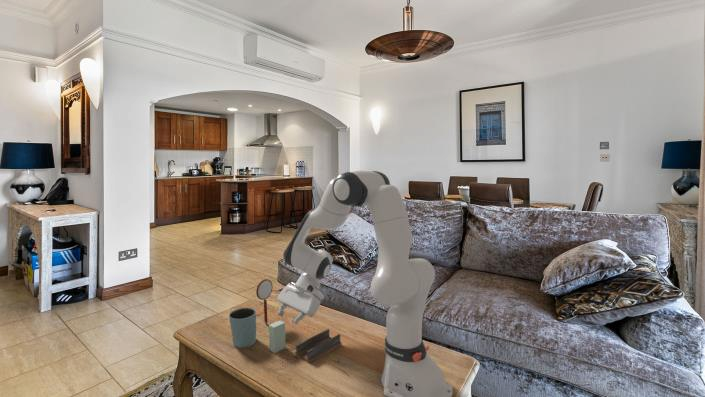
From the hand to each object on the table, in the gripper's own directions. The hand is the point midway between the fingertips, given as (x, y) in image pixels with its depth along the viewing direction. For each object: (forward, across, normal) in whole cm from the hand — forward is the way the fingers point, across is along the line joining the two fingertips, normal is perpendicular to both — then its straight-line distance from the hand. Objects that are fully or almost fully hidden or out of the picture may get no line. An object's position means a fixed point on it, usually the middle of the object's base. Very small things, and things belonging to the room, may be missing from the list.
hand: (286, 319), depth 134 cm
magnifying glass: (+5, -20, +10) cm, 23 cm away
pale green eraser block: (+10, 0, +4) cm, 11 cm away
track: (+3, +12, +11) cm, 17 cm away
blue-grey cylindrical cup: (+15, -14, 0) cm, 20 cm away
